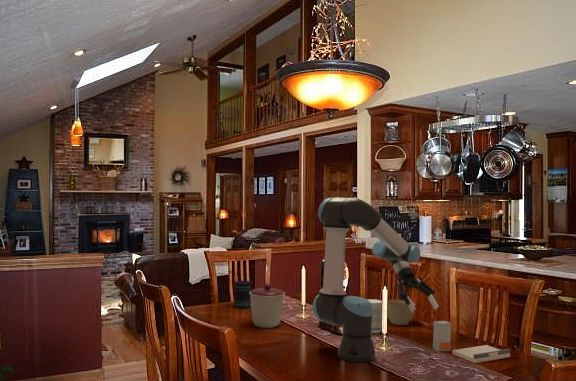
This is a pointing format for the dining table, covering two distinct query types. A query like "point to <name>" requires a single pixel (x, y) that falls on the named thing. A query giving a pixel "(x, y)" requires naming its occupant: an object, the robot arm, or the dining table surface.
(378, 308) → the supplement tub
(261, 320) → the canister
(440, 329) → the skincare box
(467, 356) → the flat cream box
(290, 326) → the dining table surface
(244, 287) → the storage jar
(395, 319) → the planter bowl
